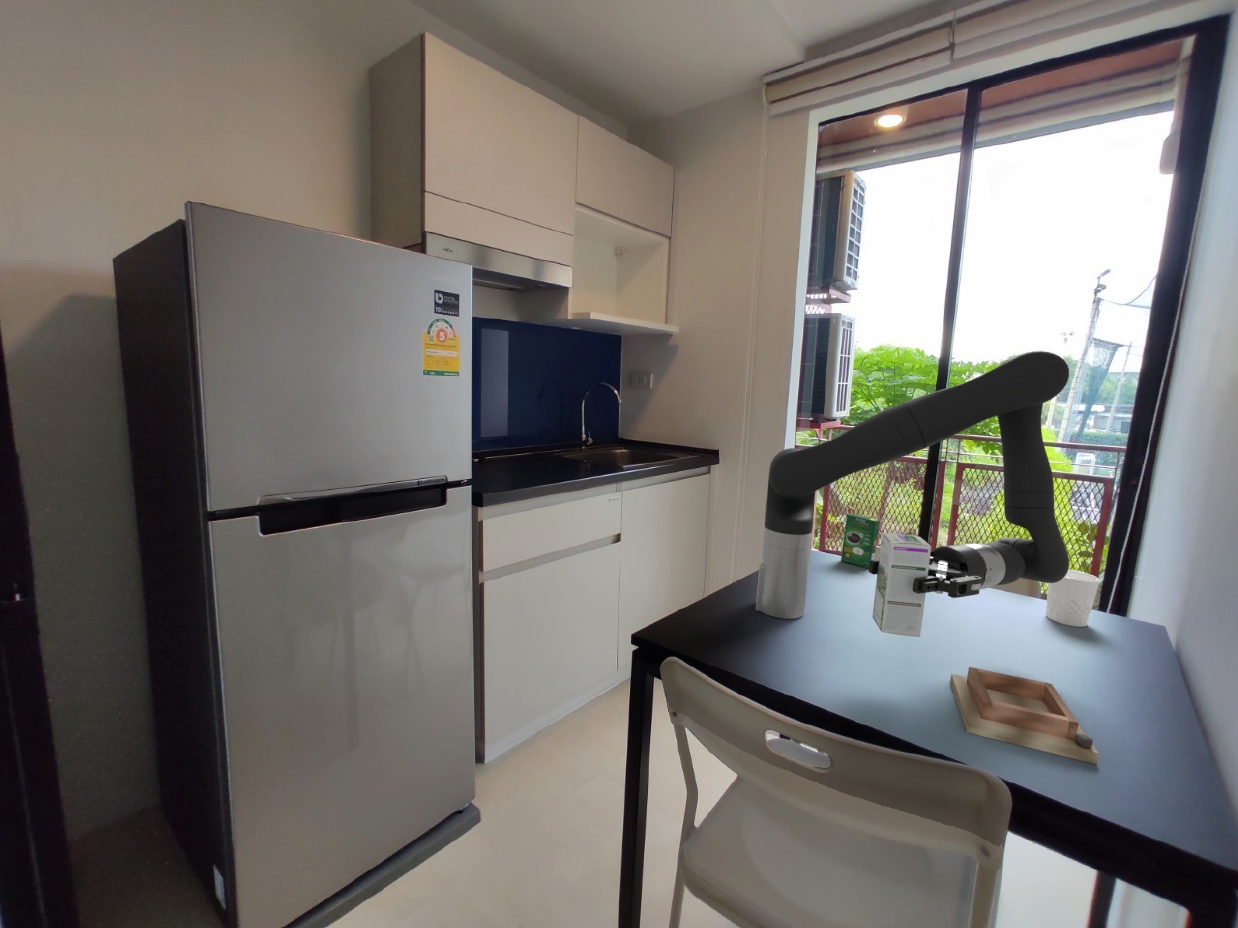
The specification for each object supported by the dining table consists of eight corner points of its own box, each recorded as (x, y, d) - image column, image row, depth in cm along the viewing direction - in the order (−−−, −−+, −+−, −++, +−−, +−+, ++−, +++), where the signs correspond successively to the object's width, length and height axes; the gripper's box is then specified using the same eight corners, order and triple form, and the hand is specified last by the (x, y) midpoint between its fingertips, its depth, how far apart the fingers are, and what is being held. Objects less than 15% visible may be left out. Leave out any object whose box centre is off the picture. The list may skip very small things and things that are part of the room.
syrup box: (921, 638, 81) (934, 545, 79) (879, 632, 83) (891, 541, 80) (909, 622, 87) (921, 534, 85) (870, 617, 88) (881, 530, 86)
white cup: (1032, 612, 117) (1040, 567, 115) (1066, 612, 118) (1074, 568, 116) (1065, 628, 109) (1074, 581, 108) (1101, 628, 110) (1110, 581, 108)
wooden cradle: (967, 732, 73) (971, 704, 73) (949, 682, 86) (953, 658, 86) (1096, 764, 68) (1102, 735, 68) (1058, 705, 81) (1062, 681, 80)
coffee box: (875, 567, 142) (881, 518, 140) (870, 569, 140) (876, 520, 138) (844, 559, 148) (850, 512, 146) (840, 561, 146) (845, 513, 144)
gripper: (929, 533, 95) (858, 539, 89) (1014, 559, 82) (938, 568, 76) (923, 574, 96) (853, 582, 90) (1006, 606, 83) (930, 619, 77)
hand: (892, 576), depth 83 cm, fingers closed on syrup box, 7 cm apart
